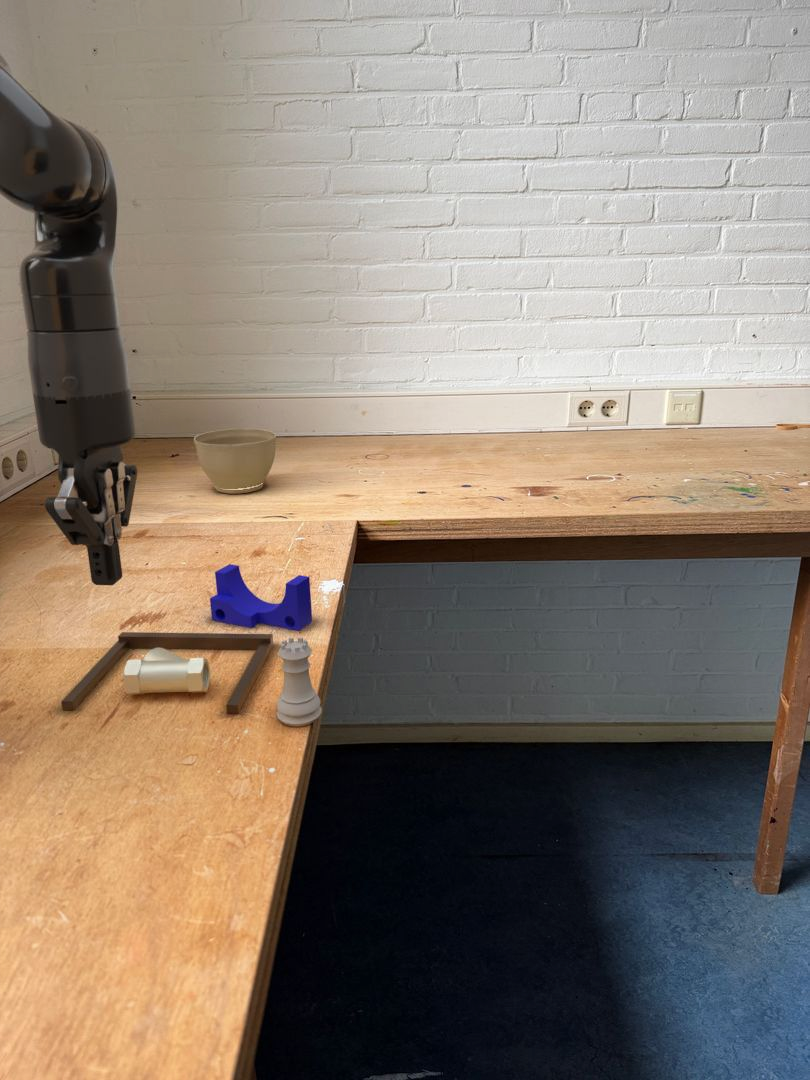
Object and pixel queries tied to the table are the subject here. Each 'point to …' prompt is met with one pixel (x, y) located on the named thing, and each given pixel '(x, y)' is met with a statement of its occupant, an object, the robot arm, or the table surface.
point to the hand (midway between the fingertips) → (107, 582)
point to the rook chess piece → (297, 685)
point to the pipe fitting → (166, 674)
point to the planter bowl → (236, 457)
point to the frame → (182, 641)
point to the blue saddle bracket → (260, 602)
